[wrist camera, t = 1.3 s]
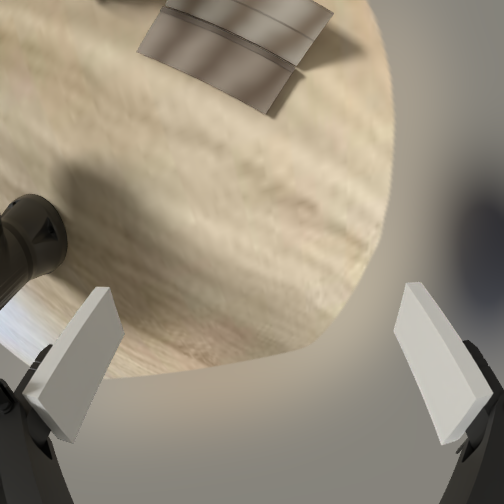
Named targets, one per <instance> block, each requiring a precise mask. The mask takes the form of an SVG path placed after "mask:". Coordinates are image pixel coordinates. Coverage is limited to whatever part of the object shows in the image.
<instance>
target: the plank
mask: <svg viewBox="0 0 504 504" xmlns="http://www.w3.org/2000/svg"><path fill="white" fill-rule="evenodd" d="M165 6H168V7H171V8H174V9H177V10H180V11H182V12H185V13H188V14H190V15H193V16H195V17H198V18H200V19H203V20H205V21H208V22H210V23H212V24H215V25H217V26H219V27H222V28H224V29H226V30H228V31H230V32H233V33H235V34H237V35H239V36H241V37H243V38H245V39H247V40H249V41H251V42H253V43H255V44H257V45H259V46H261V47H263V48H265V49H267V50H269V51H271V52H272V53H274V54H276V55H278V56H280V57H281V58H283V59H285V60H287V61H289V62H290V63H292V64H294V65H295V66H297V65H298V63H299V62H300V61H301V59H302V58H303V56H304V55H305V53H306V52H307V50H308V49H309V48H310V46H311V45H312V43H313V42H314V40H315V39H316V38H317V36H318V35H319V33H320V32H321V31H322V29H323V28H324V26H325V25H326V24H327V22H328V21H329V20H330V18H331V17H332V16H333V14H334V13H333V12H331V11H330V10H328V9H326V8H325V7H323V6H321V5H319V4H318V3H316V2H314V1H312V0H167V1H166V4H165Z"/></svg>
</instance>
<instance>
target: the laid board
mask: <svg viewBox="0 0 504 504" xmlns="http://www.w3.org/2000/svg"><path fill="white" fill-rule="evenodd" d="M137 52H138V53H140V54H143V55H145V56H148V57H150V58H153V59H155V60H157V61H160V62H162V63H164V64H167V65H169V66H171V67H174V68H176V69H178V70H180V71H182V72H185V73H187V74H189V75H191V76H193V77H195V78H197V79H199V80H201V81H203V82H206V83H208V84H210V85H212V86H214V87H216V88H218V89H220V90H221V91H223V92H225V93H227V94H229V95H231V96H233V97H235V98H237V99H239V100H240V101H242V102H244V103H246V104H248V105H250V106H251V107H253V108H255V109H257V110H259V111H260V112H262V113H264V114H266V113H267V111H268V109H269V108H270V106H271V105H272V103H273V102H274V100H275V98H276V97H277V95H278V94H279V92H280V91H281V89H282V88H283V86H284V85H285V83H286V82H287V80H288V78H289V77H290V75H291V74H292V72H293V71H294V69H295V67H294V66H292V65H290V64H288V63H287V62H285V61H283V60H281V59H280V58H278V57H276V56H274V55H272V54H270V53H269V52H267V51H265V50H263V49H261V48H259V47H257V46H255V45H253V44H251V43H249V42H247V41H245V40H243V39H241V38H239V37H237V36H235V35H233V34H231V33H228V32H226V31H224V30H222V29H220V28H217V27H215V26H213V25H210V24H208V23H206V22H203V21H201V20H198V19H196V18H193V17H191V16H188V15H185V14H183V13H180V12H177V11H175V10H172V9H169V8H166V7H162V8H161V10H160V13H159V15H158V16H157V18H156V19H155V21H154V23H153V24H152V26H151V27H150V29H149V31H148V32H147V34H146V36H145V37H144V39H143V41H142V43H141V44H140V46H139V48H138V50H137Z"/></svg>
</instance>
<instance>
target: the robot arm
mask: <svg viewBox="0 0 504 504" xmlns="http://www.w3.org/2000/svg"><path fill="white" fill-rule="evenodd" d="M66 251H67V236H66V231H65V228H64V225H63V222H62V220H61V218H60V216H59V214H58V213H57V211H56V210H55V209H54V207H53V206H52V205H51V204H50V203H49V202H48V201H47V200H45V199H44V198H42V197H40V196H38V195H35V194H26V195H23V196H21V197H19V198H17V199H15V200H14V201H13V202H12V203H10V205H9V206H8V207H7V208H6V210H5V211H4V212H3V214H2V215H0V310H1V309H2V308H3V307H4V306H5V305H6V304H7V303H8V302H9V301H10V300H11V298H12V297H13V296H14V295H15V294H16V293H17V292H18V291H19V290H20V289H21V288H22V287H23V286H24V285H25V284H26V283H27V282H28V281H29V280H31V279H34V278H37V277H39V276H42V275H45V274H49V273H51V272H52V271H54V270H55V269H56V268H57V267H58V266H59V265H60V264H61V263H62V262H63V260H64V258H65V255H66ZM394 333H395V335H396V337H397V339H398V342H399V344H400V346H401V348H402V350H403V352H404V355H405V357H406V359H407V361H408V364H409V366H410V368H411V370H412V372H413V375H414V377H415V379H416V382H417V384H418V386H419V389H420V391H421V394H422V396H423V398H424V401H425V403H426V406H427V408H428V411H429V413H430V416H431V418H432V421H433V423H434V426H435V429H436V432H437V434H438V437H439V440H440V442H441V445H444V444H447V443H450V442H453V441H457V440H458V439H459V438H460V437H461V436H462V435H463V433H464V432H465V431H466V433H467V436H468V438H467V439H466V441H465V442H464V443H463V444H462V445H461V446H460V448H458V450H457V451H456V453H457V454H458V453H459V452H460V451H461V450H462V451H461V454H460V457H459V459H458V462H457V465H456V467H455V470H454V472H453V475H452V477H451V479H450V481H449V484H448V486H447V488H446V491H445V493H444V495H443V497H442V499H441V501H440V503H439V504H504V390H503V388H502V386H501V384H500V383H499V381H498V379H497V378H496V376H495V374H494V373H493V371H492V370H491V368H490V367H489V366H488V363H487V362H486V360H485V359H483V355H482V354H481V353H480V351H479V349H478V348H477V347H476V346H475V345H474V344H473V343H471V342H470V341H469V340H466V341H462V340H461V339H460V337H459V336H458V334H457V333H456V331H455V330H454V328H453V327H452V325H451V324H450V322H449V321H448V319H447V318H446V316H445V315H444V313H443V312H442V311H441V309H440V308H439V306H438V305H437V304H436V302H435V301H434V299H433V298H432V297H431V295H430V294H429V292H428V291H427V290H426V289H425V287H424V286H423V284H422V283H421V282H410V283H406V286H405V290H404V294H403V298H402V302H401V306H400V309H399V313H398V317H397V320H396V324H395V327H394ZM124 334H125V333H124V330H123V328H122V325H121V322H120V319H119V316H118V312H117V309H116V306H115V303H114V300H113V296H112V293H111V290H110V287H95V289H94V290H93V291H92V292H91V294H90V295H89V296H88V298H87V299H86V300H85V302H84V303H83V304H82V306H81V307H80V308H79V310H78V311H77V312H76V314H75V315H74V316H73V318H72V319H71V321H70V322H69V323H68V325H67V326H66V327H65V329H64V330H63V332H62V333H61V335H60V336H59V337H58V339H57V340H56V342H55V343H54V345H51V344H49V345H48V346H47V347H46V348H45V349H43V350H42V351H41V352H40V353H39V355H38V356H37V358H36V359H35V362H33V364H32V365H31V367H30V369H29V370H28V371H27V373H26V374H25V376H24V377H23V379H22V381H21V382H20V384H19V385H18V387H17V388H16V390H15V392H14V393H13V391H12V390H11V389H10V387H9V386H8V384H7V383H6V382H5V381H4V380H3V379H0V504H74V503H73V500H72V498H71V495H70V493H69V491H68V488H67V486H66V483H65V480H64V477H63V475H62V472H61V469H60V466H59V464H58V461H57V457H56V455H55V451H54V448H53V444H52V441H51V440H50V438H49V437H48V436H49V433H50V431H52V433H53V434H54V435H55V436H56V437H57V438H58V439H60V440H63V441H66V442H69V443H72V444H74V441H75V439H76V437H77V434H78V432H79V429H80V427H81V425H82V423H83V420H84V418H85V416H86V414H87V411H88V409H89V407H90V405H91V402H92V400H93V398H94V396H95V394H96V392H97V389H98V387H99V385H100V383H101V381H102V379H103V377H104V375H105V372H106V370H107V368H108V366H109V364H110V362H111V360H112V358H113V356H114V354H115V352H116V350H117V348H118V346H119V344H120V342H121V340H122V338H123V336H124Z"/></svg>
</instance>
